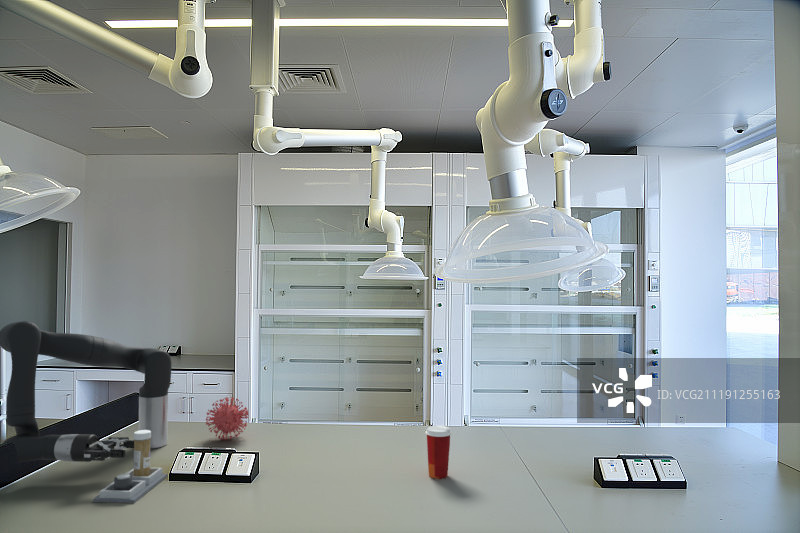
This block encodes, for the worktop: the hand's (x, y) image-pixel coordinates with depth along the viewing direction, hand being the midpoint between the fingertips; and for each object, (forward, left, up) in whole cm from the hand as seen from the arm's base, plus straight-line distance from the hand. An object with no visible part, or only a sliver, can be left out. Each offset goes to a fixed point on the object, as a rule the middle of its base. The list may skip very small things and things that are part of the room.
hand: (132, 448), depth 164 cm
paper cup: (-10, +88, -9) cm, 89 cm away
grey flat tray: (+6, +3, -9) cm, 11 cm away
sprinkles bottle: (0, +3, -9) cm, 9 cm away
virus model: (-43, +13, -9) cm, 46 cm away
